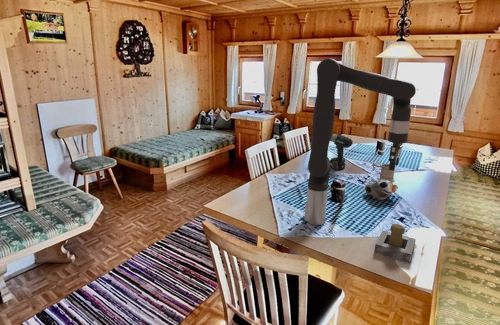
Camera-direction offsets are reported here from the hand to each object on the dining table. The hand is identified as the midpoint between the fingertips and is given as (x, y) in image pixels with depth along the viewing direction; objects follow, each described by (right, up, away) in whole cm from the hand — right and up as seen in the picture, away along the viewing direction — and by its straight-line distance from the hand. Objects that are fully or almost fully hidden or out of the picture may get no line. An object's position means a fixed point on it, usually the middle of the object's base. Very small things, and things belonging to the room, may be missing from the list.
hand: (393, 167), depth 137 cm
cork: (-3, -34, -8) cm, 35 cm away
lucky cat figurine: (+12, -18, +44) cm, 49 cm away
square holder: (-3, -34, -7) cm, 35 cm away
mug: (+25, -9, +71) cm, 76 cm away
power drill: (0, -1, +96) cm, 96 cm away
